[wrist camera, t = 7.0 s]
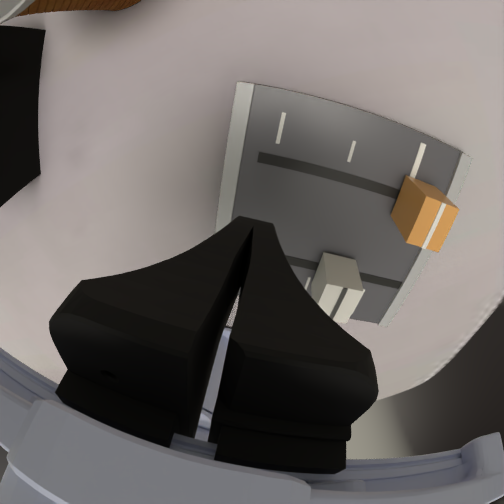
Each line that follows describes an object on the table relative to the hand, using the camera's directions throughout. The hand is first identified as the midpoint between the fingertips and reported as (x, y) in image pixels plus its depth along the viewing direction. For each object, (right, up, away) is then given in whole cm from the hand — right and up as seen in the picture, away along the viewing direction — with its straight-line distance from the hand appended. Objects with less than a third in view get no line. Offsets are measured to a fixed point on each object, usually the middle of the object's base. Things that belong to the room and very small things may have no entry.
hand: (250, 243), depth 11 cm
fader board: (+6, +2, +10) cm, 11 cm away
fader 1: (+6, -2, +10) cm, 12 cm away
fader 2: (+11, +3, +6) cm, 13 cm away
